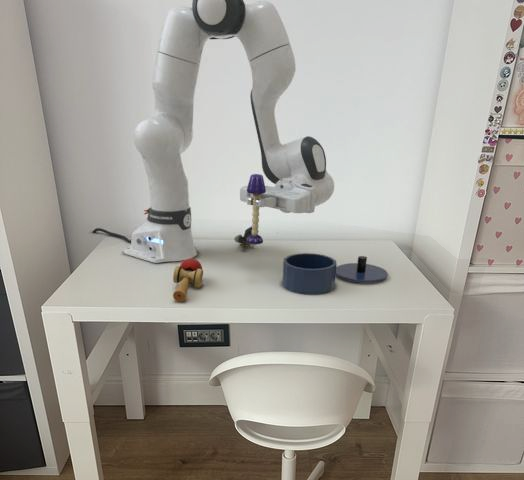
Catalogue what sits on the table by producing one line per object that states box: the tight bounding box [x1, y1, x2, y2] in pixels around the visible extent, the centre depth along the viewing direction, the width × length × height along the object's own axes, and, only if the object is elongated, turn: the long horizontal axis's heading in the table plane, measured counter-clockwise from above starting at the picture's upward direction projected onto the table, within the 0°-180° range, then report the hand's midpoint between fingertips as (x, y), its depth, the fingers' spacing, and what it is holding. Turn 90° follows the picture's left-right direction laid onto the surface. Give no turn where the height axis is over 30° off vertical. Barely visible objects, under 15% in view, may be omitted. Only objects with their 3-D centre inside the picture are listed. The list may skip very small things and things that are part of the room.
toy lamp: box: [247, 173, 266, 245], centre depth 124 cm, size 5×5×17 cm
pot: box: [282, 252, 338, 295], centre depth 130 cm, size 14×14×6 cm
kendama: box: [172, 258, 204, 303], centre depth 126 cm, size 8×6×18 cm
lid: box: [336, 255, 389, 284], centre depth 138 cm, size 15×15×5 cm
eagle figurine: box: [234, 225, 260, 252], centre depth 159 cm, size 8×7×9 cm
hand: (253, 202), depth 123 cm, fingers closed on toy lamp
